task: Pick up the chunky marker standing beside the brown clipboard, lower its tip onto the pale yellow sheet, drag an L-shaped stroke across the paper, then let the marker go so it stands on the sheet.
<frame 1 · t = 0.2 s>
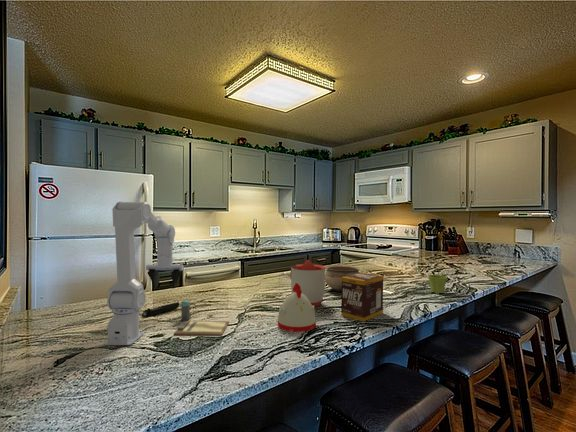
hand: (164, 287, 126), 10 cm above the countertop, tool pointing down, fingers open, 7 cm apart
supplement box: (362, 315, 125), on the countertop
marker: (185, 319, 117), on the countertop
citrus juicer: (305, 304, 139), on the countertop
kitchen timer: (296, 325, 113), on the countertop
cooking pot: (342, 291, 164), on the countertop
plant pot: (437, 293, 162), on the countertop
clipboard: (202, 328, 108), on the countertop
electric trimmer: (160, 313, 126), on the countertop
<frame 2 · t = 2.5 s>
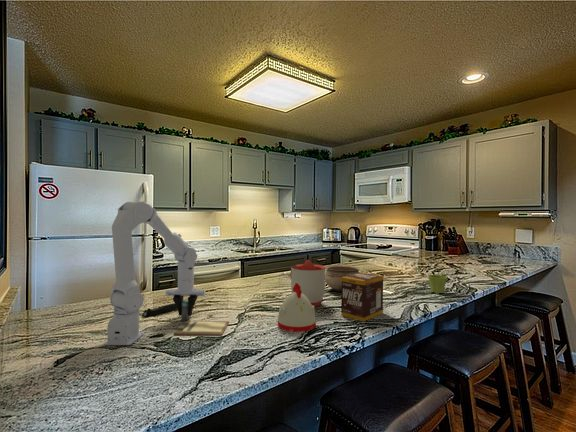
hand: (185, 314, 117), 2 cm above the countertop, tool pointing down, fingers closed on marker, 3 cm apart
marker: (185, 319, 117), on the countertop, touching gripper
everything else where it was.
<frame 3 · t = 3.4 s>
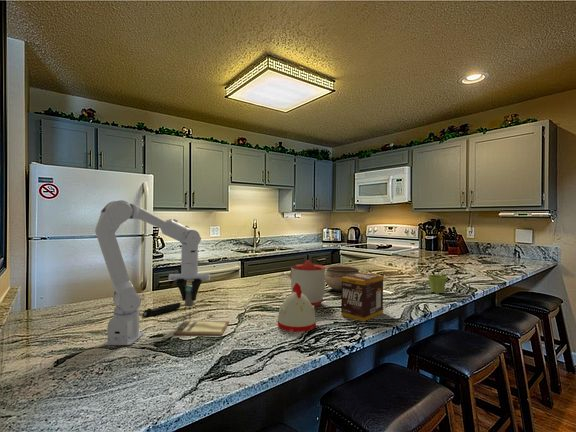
hand: (189, 299, 112), 9 cm above the countertop, tool pointing down, fingers closed on marker, 3 cm apart
marker: (189, 305, 112), point 7 cm above the countertop, touching gripper
everything else where it was.
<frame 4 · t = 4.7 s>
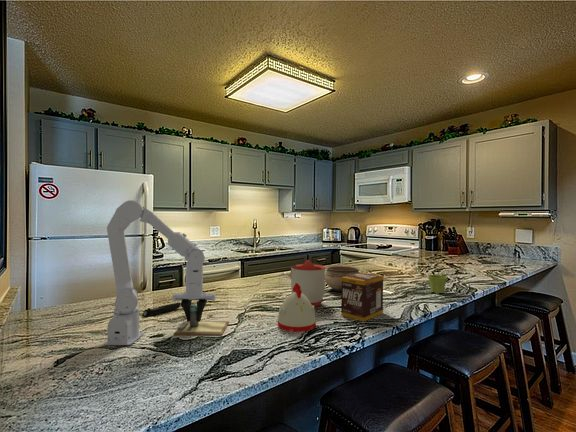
hand: (194, 320, 108), 3 cm above the countertop, tool pointing down, fingers closed on marker, 3 cm apart
marker: (194, 325, 108), point 1 cm above the countertop, touching gripper
everything else where it was.
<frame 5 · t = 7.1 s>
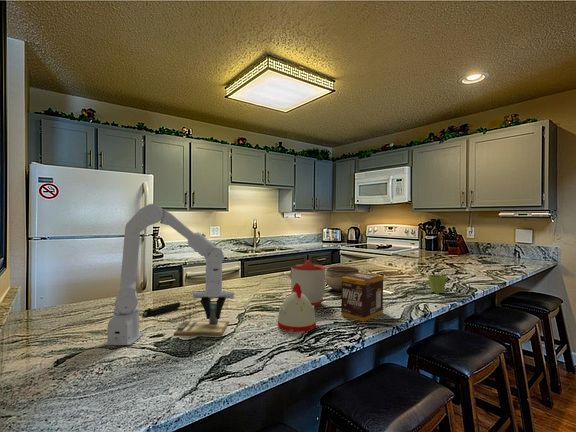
hand: (213, 318, 111), 3 cm above the countertop, tool pointing down, fingers closed on marker, 3 cm apart
marker: (213, 323, 111), point 1 cm above the countertop, touching gripper
everything else where it was.
when the fingers open (3 cm above the countertop, at t = 7.4 s): marker stays where it is, resting on clipboard.
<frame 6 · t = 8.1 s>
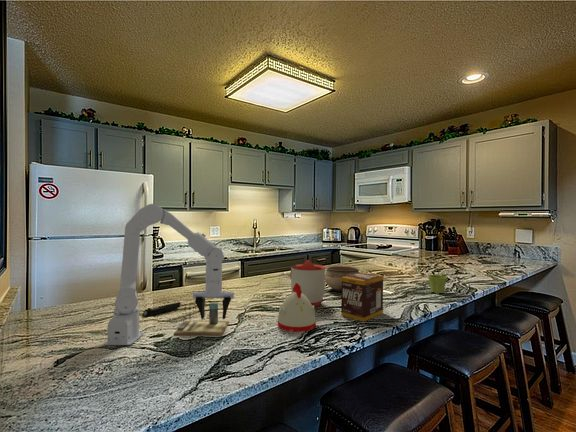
hand: (213, 318, 111), 3 cm above the countertop, tool pointing down, fingers open, 7 cm apart
marker: (213, 323, 111), point 1 cm above the countertop, touching clipboard
everything else where it was.
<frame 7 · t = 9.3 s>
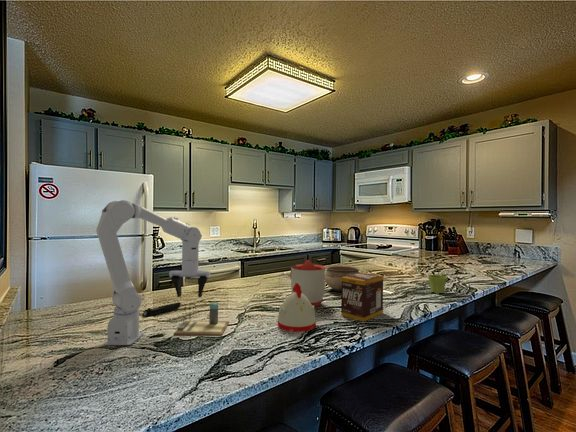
hand: (189, 296, 114), 10 cm above the countertop, tool pointing down, fingers open, 7 cm apart
nothing on the countertop moved.
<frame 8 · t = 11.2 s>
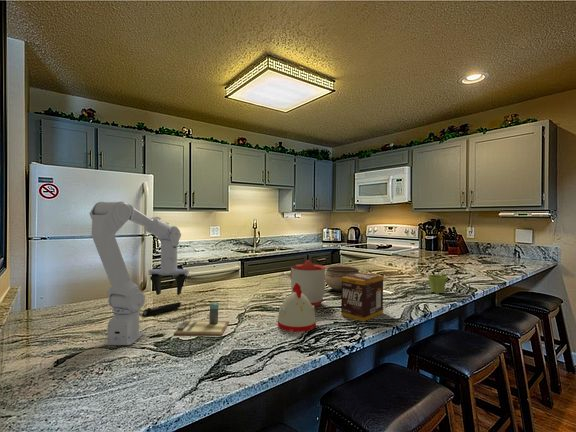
hand: (168, 294, 116), 10 cm above the countertop, tool pointing down, fingers open, 7 cm apart
nothing on the countertop moved.
at the end: marker inside the target area on the clipboard (3.8 cm from its centre), point 0.8 cm above the clipboard's base; marker tilted 2°; the gripper is holding nothing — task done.
